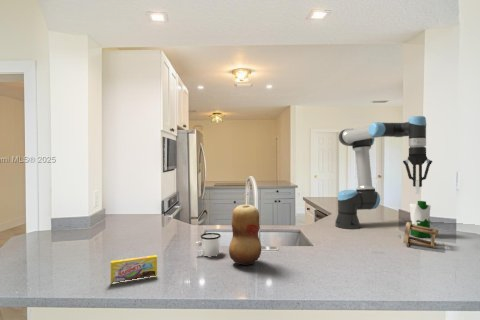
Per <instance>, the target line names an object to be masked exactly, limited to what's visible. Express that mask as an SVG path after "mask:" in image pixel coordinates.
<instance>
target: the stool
mask: <svg viewBox="0 0 480 320" xmlns="http://www.w3.org/2000/svg"><path fill="white" fill-rule="evenodd" d="M411 230H415V231H419V232H424V233H428V234H430V235H431V236H430V240H427V239H423V238H417V237H415V236H410V235H411ZM436 236H438V237H439V229H436V228H431V227H430V228H427V227H422V226H418V225H413V224H411V221H407V222H406V224H405V229H404V236H403V243H405V244H407V243H408V242H410V244H411V243H414V244H418V245H422V246H426V247H430V248H434V249H436V248H437V246H434V245H436V244H438V243H437V242H436V241H435V240H436V239H435V238H436ZM409 239H410V240H409ZM417 241H420V242H417ZM422 242H424V243H422ZM426 243H428V244H426ZM430 244H431V245H430Z"/></svg>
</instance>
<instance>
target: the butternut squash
mask: <svg viewBox="0 0 480 320" xmlns="http://www.w3.org/2000/svg"><path fill="white" fill-rule="evenodd" d="M259 212H260V211H259V210H258V208H257V207H256V206H254V205H253V204H252V205H251V204H240V205H237V206H236V207H235V208H234V209H233V211H232V214H231V215H232V216H231V217H232V218H231V229H232V238H231V241H230V244H229V247H228V253H229V254H228V255H229V257H230V259H231V260H232V261H233V262H234V263H236V264H239V263H240V265H242V266H248V265H252V264H253V263H255V262H256V261H258V260H259V258H260V256H261V254H262V244H261V241H260V237H259V232H260V228H261V226H260V213H259Z"/></svg>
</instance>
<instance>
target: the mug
mask: <svg viewBox="0 0 480 320" xmlns="http://www.w3.org/2000/svg"><path fill="white" fill-rule="evenodd" d="M200 238H201V240H199V241H196V242H195V244H194V249H195V251H196V253H201V256H202V257H204V256H216V255H218V254H219V253H221V252H220V250H221V249H220V248H221V247H220V241H221V240H220V239H221V233H218V232H206V233H202V234H201V235H200ZM197 243H198V244H199V243H201V249H200V250H197ZM219 255H220V254H219ZM219 255H218V256H219ZM216 257H217V256H216Z"/></svg>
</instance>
